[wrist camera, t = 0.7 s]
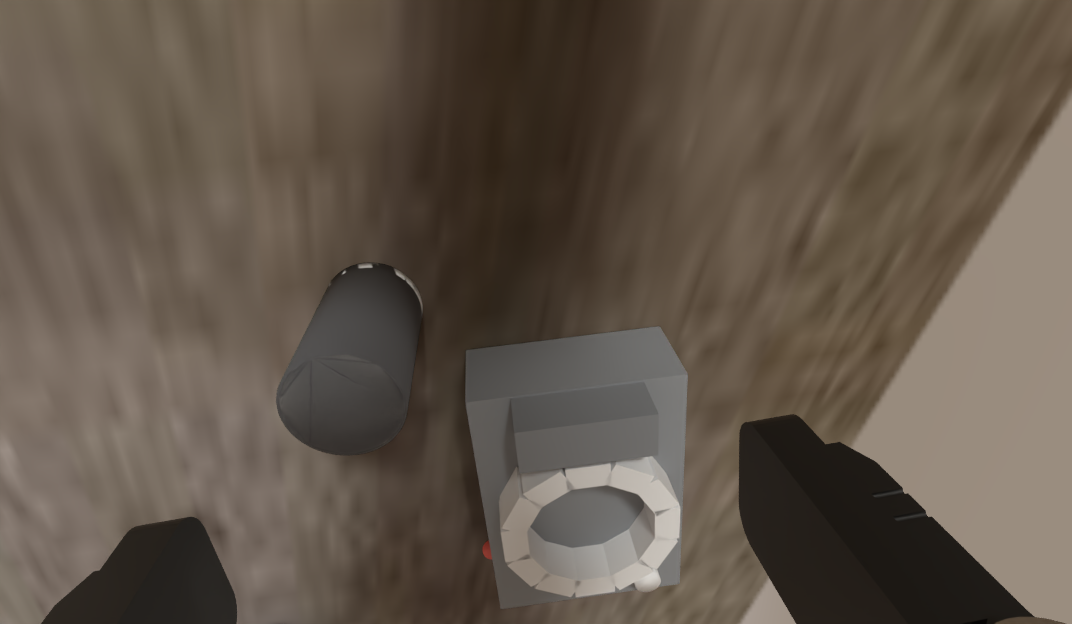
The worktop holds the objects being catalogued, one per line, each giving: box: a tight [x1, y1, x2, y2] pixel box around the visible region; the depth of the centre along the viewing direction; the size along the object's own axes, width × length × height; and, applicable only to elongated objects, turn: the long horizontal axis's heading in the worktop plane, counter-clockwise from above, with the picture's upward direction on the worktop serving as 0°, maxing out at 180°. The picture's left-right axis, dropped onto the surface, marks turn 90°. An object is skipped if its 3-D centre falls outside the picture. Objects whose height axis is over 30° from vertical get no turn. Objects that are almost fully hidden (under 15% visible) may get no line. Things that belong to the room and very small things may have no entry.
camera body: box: [465, 326, 688, 609], centre depth 31 cm, size 14×11×7 cm
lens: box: [276, 263, 423, 455], centre depth 25 cm, size 5×5×8 cm
